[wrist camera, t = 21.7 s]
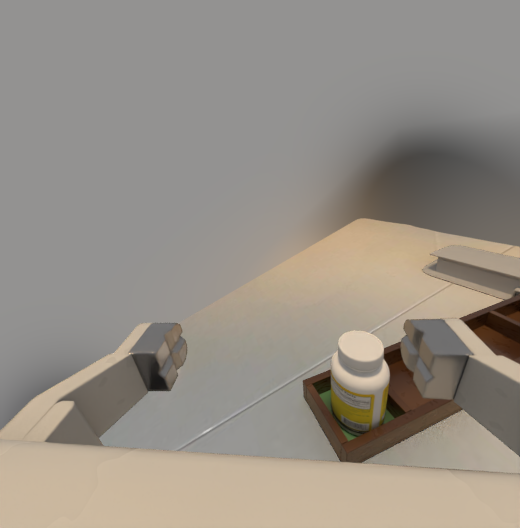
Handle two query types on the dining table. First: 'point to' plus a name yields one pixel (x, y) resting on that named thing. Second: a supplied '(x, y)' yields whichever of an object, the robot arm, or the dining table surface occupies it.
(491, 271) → the grey hinged lid tray
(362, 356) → the supplement bottle
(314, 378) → the rack
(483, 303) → the dining table surface
